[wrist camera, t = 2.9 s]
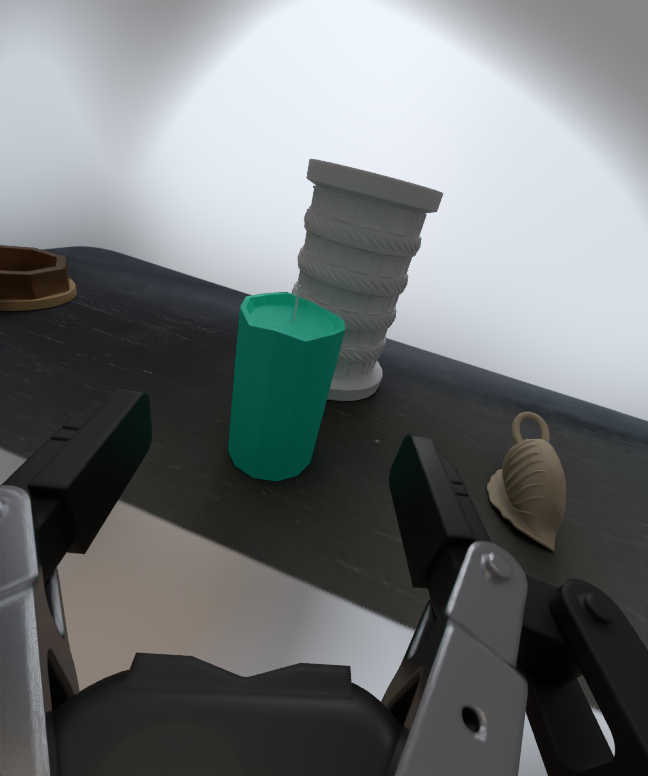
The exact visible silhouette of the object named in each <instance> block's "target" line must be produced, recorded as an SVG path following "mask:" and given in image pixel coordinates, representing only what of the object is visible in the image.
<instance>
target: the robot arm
mask: <svg viewBox="0 0 648 776" xmlns="http://www.w3.org/2000/svg"><path fill="white" fill-rule="evenodd" d="M151 440H152V425H151V413H150V401H149V396H148V394H147V393H142V392H136V391H130V390H123V389H117V390H116V391H114V392H113V393H112V395H111V396H110V397H109V398H108V399H107V400H106V401H105V402H104V403H103V404H98V403H93V404H91V405H90V406H88V407H86V408H84V409H82V410H80V411H78V412H76V413H75V414H74V415H73V416H72V417H71V418H69V419H68V420H67V421H66V422H65V423H64V424H63V425H62V428H61V429H60V428H59V429H58V430H57V431H56V432H55V433H54V434H53V435H52V436H51V439H50V440H47V441H46V442H45V443H44V444H43V445H42V446H41V447H40V448H39V449H38V450H37V451H36V452H35V453H34V454H33V455H32V456H31V457H29V458H28V459H27V460H26V461H25V462H24V463H23V464H22V465H21V466H20V467H19V468H18V469H17V470H16V471H15V472H14V473H13V474H12V475H11V476H10V477H9V478H8V479H7V480H6V481H5V482H4V483H3V484H2V485H0V776H518V770H519V761H520V754H521V745H522V736H523V728H524V720H525V711H526V714H527V717H528V720H529V723H530V725H531V728H532V731H533V733H534V737H535V740H536V743H537V745H538V748H539V751H540V754H541V757H542V760H543V763H544V766H545V768H546V771H547V774H548V776H648V650H647V649H646V647H645V646H644V644H643V643H642V641H641V639H640V638H639V636H638V635H637V633H636V632H635V630H634V629H633V627H632V626H631V624H630V623H629V621H628V620H627V618H626V617H625V615H624V614H623V612H622V611H621V610H620V608H619V607H618V606H617V605H616V604H615V603H614V602H613V601H612V600H611V599H610V598H609V597H608V596H607V595H606V594H605V593H603V592H602V591H601V590H599V589H598V588H596V587H595V586H593V585H591V584H589V583H587V582H585V581H582V580H578V579H570V580H568V581H566V582H565V583H564V584H563V585H562V586H561V587H559V588H557V587H554V586H552V585H549V584H547V583H545V582H542V581H540V580H538V579H535V578H533V577H531V576H528V575H526V574H524V572H523V570H522V568H521V566H520V565H519V564H518V562H517V561H516V560H515V559H514V558H513V557H512V556H511V555H510V554H509V553H508V552H507V551H505V550H504V549H503V548H501V547H499V546H498V545H495V544H493V543H492V542H491V540H490V538H489V536H488V534H487V532H486V530H485V528H484V526H483V524H482V521H481V519H480V517H479V515H478V513H477V511H476V509H475V507H474V505H473V503H472V500H471V498H469V497H468V495H469V494H468V492H467V490H466V488H465V486H463V482H462V480H461V477H460V475H459V473H458V471H457V469H456V468H455V467H454V466H453V465H452V464H451V463H450V461H449V460H448V459H447V458H446V457H445V456H440V455H439V453H438V451H437V449H436V446H435V444H434V442H433V440H432V439H431V438H426V437H419V436H413V435H407V436H406V437H405V438H404V440H403V442H402V444H401V447H400V449H399V451H398V453H397V456H396V458H395V460H394V462H393V465H392V467H391V470H390V475H389V486H390V491H391V495H392V499H393V503H394V508H395V512H396V516H397V520H398V525H399V529H400V533H401V538H402V542H403V546H404V550H405V555H406V559H407V563H408V567H409V572H410V576H411V580H412V585H413V587H417V588H428V591H429V594H430V600H429V601H428V603H427V604H426V607H425V609H424V611H423V614H422V616H421V618H420V621H419V623H418V625H417V628H416V630H415V633H414V635H413V638H412V640H411V642H410V644H409V647H408V649H407V651H406V654H405V656H404V658H403V661H402V663H401V665H400V667H399V669H398V671H397V673H396V675H395V676H394V678H393V680H392V681H391V683H390V685H389V687H388V689H387V691H386V693H385V695H384V697H383V699H382V701H381V702H380V701H379V700H378V699H377V698H376V697H374V696H373V695H372V694H370V693H369V692H368V691H366V690H365V689H363V688H361V687H360V686H358V685H356V684H354V683H352V682H351V671H350V666H341V665H326V664H309V663H299V664H295V665H291V666H288V667H284V668H280V669H276V670H273V671H269V672H265V673H262V674H258V675H254V676H250V677H242V676H239V675H236V674H234V673H231V672H229V671H226V670H224V669H222V668H219V667H217V666H214V665H212V664H210V663H207V662H205V661H202V660H200V659H197V658H195V657H193V656H182V655H165V654H149V653H136V654H135V657H134V660H133V662H132V665H131V667H130V670H126V671H122V672H119V673H117V674H114V675H111V676H109V677H106V678H104V679H102V680H100V681H98V682H96V683H94V684H92V685H90V686H88V687H87V688H85V689H83V690H82V691H79V685H78V680H77V675H76V671H75V666H74V662H73V659H72V655H71V652H70V647H69V642H68V635H67V628H66V622H65V615H64V608H63V602H62V595H61V588H60V581H59V575H58V570H57V566H58V564H59V563H60V561H61V560H62V558H63V557H64V555H65V554H66V552H68V553H79V554H85V553H86V551H87V550H88V548H89V546H90V544H91V543H92V541H93V540H94V538H95V537H96V535H97V533H98V532H99V530H100V528H101V527H102V525H103V523H104V522H105V520H106V519H107V517H108V515H109V514H110V512H111V511H112V509H113V507H114V506H115V504H116V503H117V501H118V499H119V498H120V496H121V494H122V493H123V491H124V490H125V488H126V486H127V485H128V483H129V481H130V480H131V478H132V477H133V475H134V473H135V472H136V470H137V468H138V467H139V465H140V464H141V462H142V460H143V459H144V457H145V455H146V454H147V452H148V450H149V447H150V444H151ZM581 675H583V676H584V678H585V680H586V682H587V684H588V686H589V688H590V690H591V692H592V694H593V696H594V698H595V700H596V702H597V704H598V706H599V708H600V710H601V712H602V714H603V716H604V718H605V720H606V722H607V724H608V726H609V728H610V730H611V733H612V736H613V739H614V743H615V756H613V754H612V752H611V749H610V747H609V745H608V743H607V741H606V739H605V737H604V735H603V733H602V730H601V729H600V726H599V724H598V722H597V720H596V718H595V716H594V714H593V712H592V709H591V707H590V705H589V703H588V701H587V699H586V697H585V695H584V693H583V691H582V688H581V686H580V684H579V682H578V680H577V678H578V677H579V676H581Z"/></svg>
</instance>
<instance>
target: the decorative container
mask: <svg viewBox="0 0 648 776" xmlns="http://www.w3.org/2000/svg"><path fill="white" fill-rule="evenodd" d="M307 179H308V180H310V181H311V182H312V183H314V184H315V185H316V186H313V188H314V192H313V198H312V204H311V206H310V208H309V209H307V212H306V214H305V217H304V220H305V225H304V227H305V229H306V231H307V233H306V239H305V245H304V246H303V247H302V248H301V249H300V252H299V255H298V266H299V269H300V273H299V279H298V281H297V282H296V284H295V285H294V288H293V290H292V294H293V295H296V296H297V291H298V286H299V285H301V289H300V295H299V297H301V298H304V299H306V300H309V301H311V302H313V303H315V304H317V305H318V306H320V307H322V308H324V309H326V310H328V311H330V312H331V313H333V314H335V315H336V316H338V317H340V318H341V319H343V320H344V323H345V328H346V330H345V334H344V338H343V342H342V345H341V349H340V353H339V356H338V360H337V364H336V368H335V371H334V375H333V379H332V383H331V386H330V390H329V394H328V398H327V399H328V400H337V401H354V400H360V399H363V398H367V397H369V396H370V395H372V394H373V393H375V392H376V390H377V388H378V387H379V384H380V381H381V379H382V369H381V367H380V365H379V363H378V362H377V359H378V358H379V357H380V355H381V354H382V352H383V351H384V348H385V344H386V337H385V335H386V332H387V329H388V328H389V327H390V326H391V325H392V322H394V319H395V318H396V303H397V300H398V297H399V295H400V294H401V293H402V292H403V291H404V289H405V287H406V285H407V281H408V275H407V270H408V268H409V265H410V262H411V259H412V257H413V256H415V255H416V253H417V251H418V250H419V248H420V245H421V237H419V235H420V232H421V230H422V227H423V223H424V221H425V218H426V214H425V213H432V212H437V210H438V207H439V204H440V201H441V198H442V196H443V193H442V192H439V191H436V190H433V189H430V188H427V187H423V186H419V185H416V184H413V183H409V182H406V181H402V180H398V179H395V178H391V177H387V176H383V175H379V174H376V173H372V172H368V171H363V170H360V169H356V168H352V167H347V166H343V165H339V164H334V163H330V162H325V161H320V160H315V159H310V160H309V166H308V172H307Z"/></svg>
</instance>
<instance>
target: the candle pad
mask: <svg viewBox="0 0 648 776" xmlns="http://www.w3.org/2000/svg"><path fill="white" fill-rule="evenodd" d="M76 294H77V292H76V286H75V283H74V282H73V281H72V280H71V279H70V277H69V272H68V267H67V261H66V257H64V256H60V255H57V254H54V253H50V252H47V251H44V250H41V249H37V248H30V247H17V246H4V245H0V311H26V310H37V309H45V308H50V307H55V306H58V305H62V304H65V303H67V302H69V301H71V300H72V299H74V298H75V296H76Z"/></svg>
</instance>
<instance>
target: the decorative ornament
mask: <svg viewBox="0 0 648 776" xmlns="http://www.w3.org/2000/svg"><path fill="white" fill-rule="evenodd" d="M525 418H531V419H533V420H534V421H535V422H536V423H537V424H538V426H539V427H540V430H541V439H525V440H523V439H522V437H521V435H520V430H519V427H520V423H521V421H522V420H523V419H525ZM512 435H513V439H514V441H515V443H516V445H514V446H513V447H512V448H511V449H510V450H509V452H508V453H507V455H506V457H505V459H504V462H503V466H502V469H500V470H497V471H496V473H495V474H494V475H493V476H491V480H490V482H489V483H488V485H487V491H488V494H489V499H490V502H491V504H492V505H493V506H494V507H495V508H496V509H498V510H499V511H500V512H501V515H502V517H503V518H505V519H507V520H509V521H510V522H511V523H512V525H513V526H514V527H515V528H516V529H517V530H519V531H521V532H523V533H524V534H526V535H527V536H529V537H530V538H532V539H533V540H535V541H537V542H538V543H540V544H542V545H543V546H545V547H547V548H549V549H550V550H552V551H553V552H554V551H555V537H556V534H557V532H558V530H559V528H560V526H561V523H562V520H563V516H564V510H565V505H566V483H565V477H564V472H563V469H562V466H561V463H560V460H559V458H558V456H557V454H556V452H555V450H554V449H553V447H552V446H551V445H550V444H549V440H550V434H549V429H548V427H547V424H546V423H545V421H544V420H543V419H542V418H541V417H540V416H538V415H537V414H535V413H532V412H523V413H521V414H519V415H518V416H517V417H516V418H515V419H514V421H513V425H512Z"/></svg>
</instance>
